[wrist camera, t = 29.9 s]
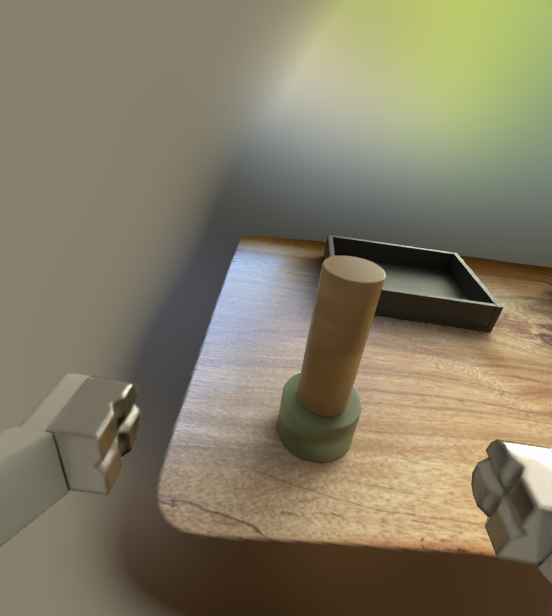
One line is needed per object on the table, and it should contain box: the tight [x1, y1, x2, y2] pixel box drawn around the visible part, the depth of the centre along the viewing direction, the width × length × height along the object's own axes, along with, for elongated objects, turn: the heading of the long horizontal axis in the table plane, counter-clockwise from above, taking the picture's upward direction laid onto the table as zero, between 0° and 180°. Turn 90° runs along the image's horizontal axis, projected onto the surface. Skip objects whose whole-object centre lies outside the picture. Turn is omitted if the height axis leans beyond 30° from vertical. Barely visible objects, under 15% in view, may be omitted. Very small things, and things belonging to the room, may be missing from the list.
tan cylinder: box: [277, 255, 386, 462], centre depth 22 cm, size 5×5×12 cm
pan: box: [324, 235, 503, 332], centre depth 44 cm, size 17×14×3 cm
